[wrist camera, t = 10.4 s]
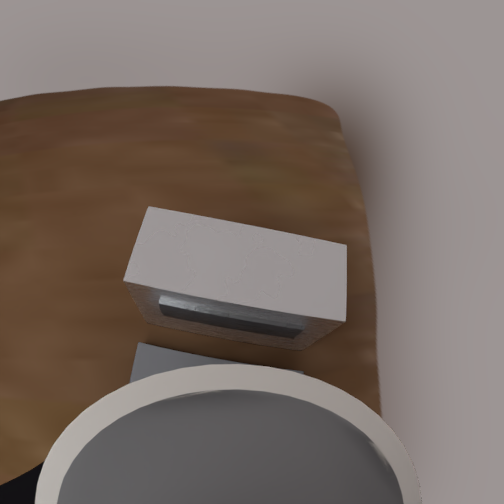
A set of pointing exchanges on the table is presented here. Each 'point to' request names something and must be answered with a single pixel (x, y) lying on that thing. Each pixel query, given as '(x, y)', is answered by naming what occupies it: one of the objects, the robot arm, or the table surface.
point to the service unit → (237, 280)
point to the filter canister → (228, 444)
